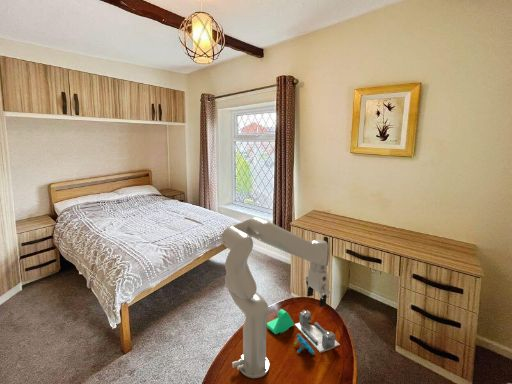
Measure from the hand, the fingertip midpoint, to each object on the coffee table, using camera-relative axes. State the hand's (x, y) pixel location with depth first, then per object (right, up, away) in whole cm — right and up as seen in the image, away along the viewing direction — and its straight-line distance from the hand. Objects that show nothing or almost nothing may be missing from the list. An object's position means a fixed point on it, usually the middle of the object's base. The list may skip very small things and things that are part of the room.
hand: (316, 300), depth 126 cm
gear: (-5, -20, -7) cm, 22 cm away
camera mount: (-17, -17, +9) cm, 26 cm away
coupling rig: (0, -18, +3) cm, 18 cm away
